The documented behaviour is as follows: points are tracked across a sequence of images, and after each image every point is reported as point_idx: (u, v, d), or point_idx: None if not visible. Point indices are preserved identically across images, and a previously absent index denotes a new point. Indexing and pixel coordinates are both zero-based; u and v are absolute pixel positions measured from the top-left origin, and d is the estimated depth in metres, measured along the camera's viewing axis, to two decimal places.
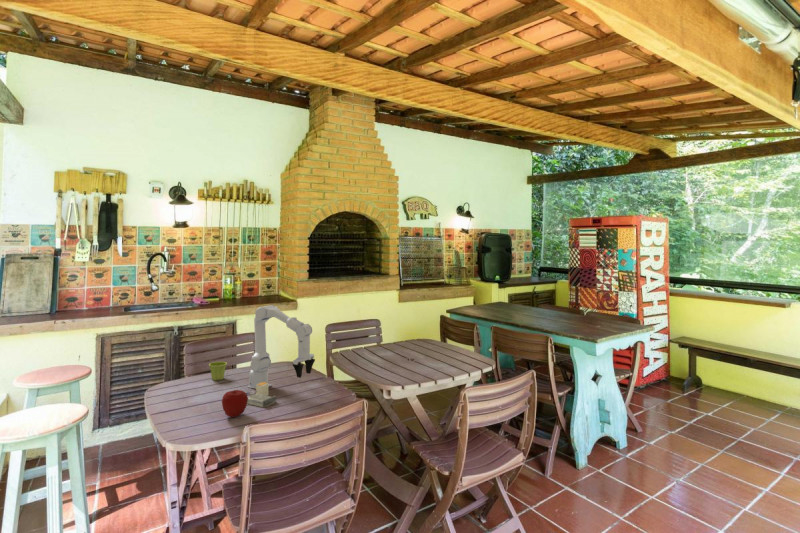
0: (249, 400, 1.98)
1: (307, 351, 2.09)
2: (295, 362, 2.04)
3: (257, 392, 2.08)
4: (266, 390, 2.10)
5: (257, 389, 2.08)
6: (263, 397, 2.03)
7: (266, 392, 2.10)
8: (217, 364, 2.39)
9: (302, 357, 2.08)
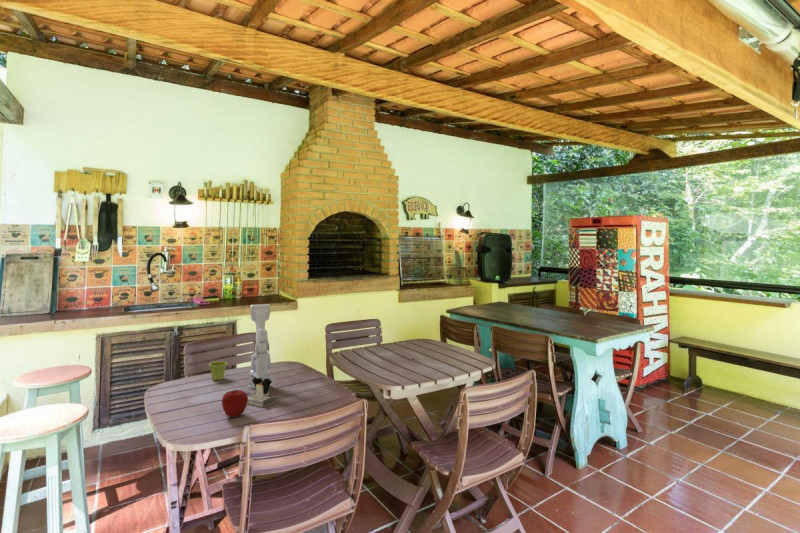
0: (249, 400, 1.98)
1: (257, 369, 2.07)
2: None
3: (257, 392, 2.08)
4: None
5: (257, 389, 2.08)
6: (263, 397, 2.03)
7: None
8: (217, 364, 2.39)
9: None
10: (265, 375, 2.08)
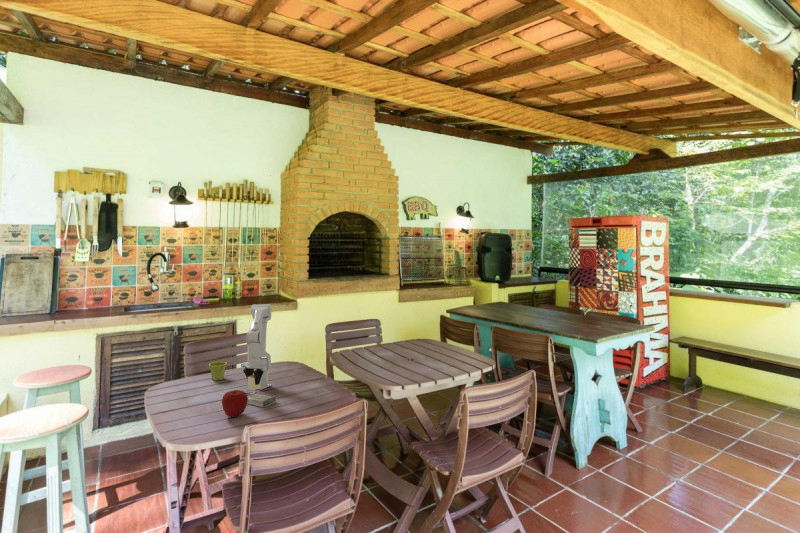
0: (249, 400, 1.98)
1: (248, 358, 2.00)
2: None
3: (249, 385, 2.01)
4: None
5: (249, 381, 2.01)
6: (263, 397, 2.03)
7: (258, 384, 2.02)
8: (217, 364, 2.39)
9: None
10: (257, 365, 2.00)
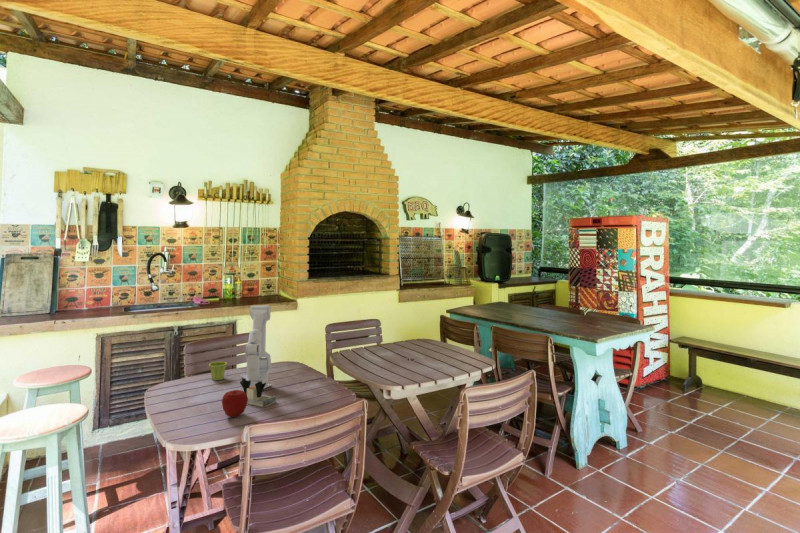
0: (249, 400, 1.98)
1: (247, 371, 1.99)
2: None
3: (248, 396, 2.00)
4: None
5: (248, 393, 2.01)
6: (263, 397, 2.03)
7: None
8: (217, 364, 2.39)
9: None
10: (256, 377, 2.00)
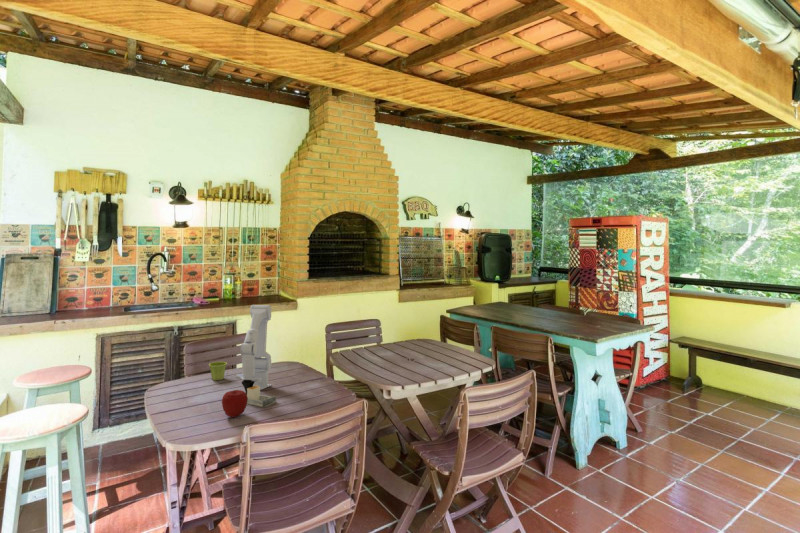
0: (249, 400, 1.98)
1: (243, 370, 2.00)
2: None
3: (248, 396, 2.00)
4: (258, 394, 2.02)
5: (248, 393, 2.00)
6: (263, 397, 2.03)
7: (257, 396, 2.02)
8: (217, 364, 2.39)
9: None
10: (251, 376, 2.01)
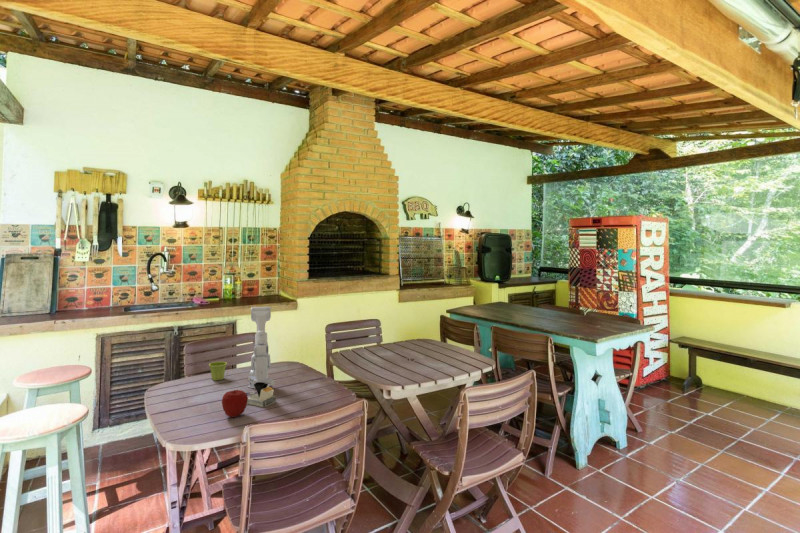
0: (249, 400, 1.98)
1: (255, 372, 1.97)
2: None
3: (261, 397, 1.97)
4: (270, 397, 1.99)
5: (261, 394, 1.97)
6: None
7: None
8: (217, 364, 2.39)
9: None
10: (264, 379, 1.98)
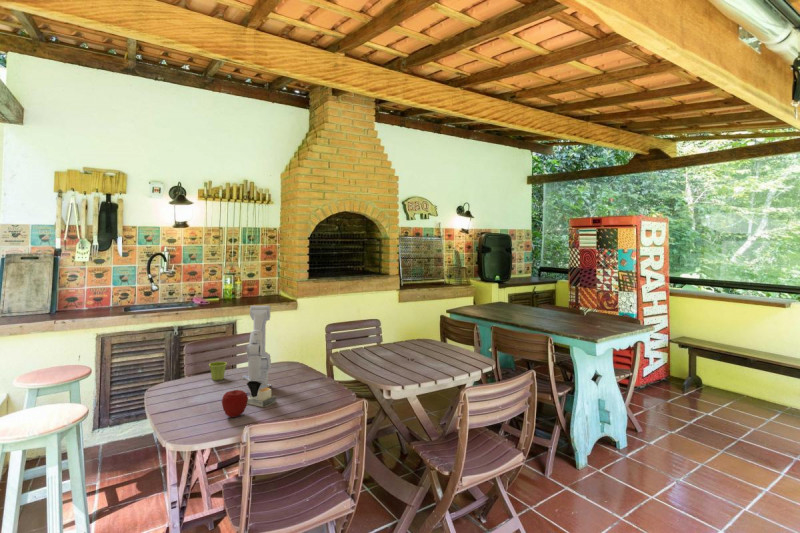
0: (249, 400, 1.98)
1: (249, 371, 1.99)
2: None
3: (260, 399, 1.98)
4: (269, 396, 2.00)
5: (259, 395, 1.98)
6: None
7: None
8: (217, 364, 2.39)
9: None
10: (257, 378, 1.99)
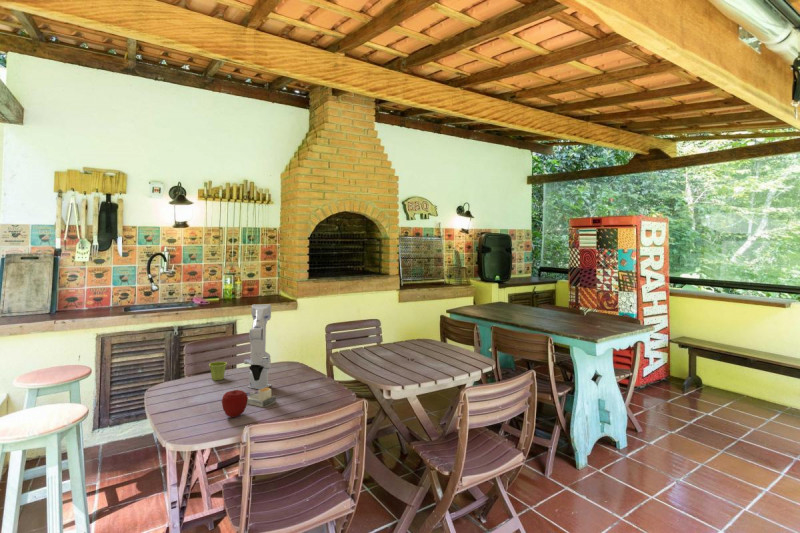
0: (249, 400, 1.98)
1: (251, 355, 2.01)
2: None
3: (260, 399, 1.98)
4: (269, 396, 2.00)
5: (259, 395, 1.98)
6: None
7: None
8: (217, 364, 2.39)
9: None
10: (260, 362, 2.01)
